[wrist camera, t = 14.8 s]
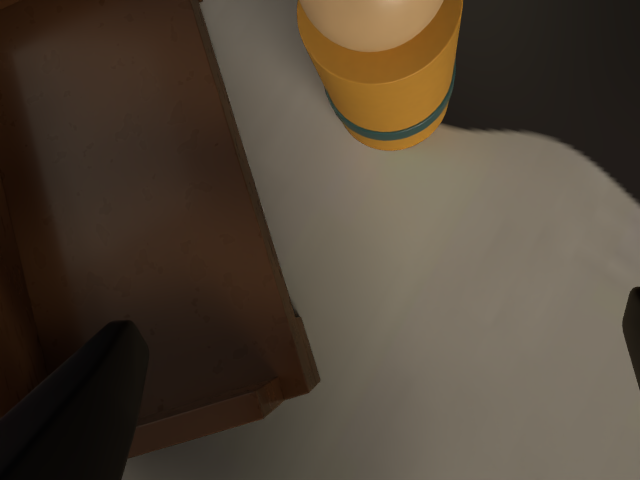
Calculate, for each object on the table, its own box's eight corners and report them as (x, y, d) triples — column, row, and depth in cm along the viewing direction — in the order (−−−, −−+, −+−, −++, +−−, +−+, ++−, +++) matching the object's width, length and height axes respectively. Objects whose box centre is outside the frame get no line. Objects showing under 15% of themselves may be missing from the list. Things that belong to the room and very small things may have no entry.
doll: (446, 156, 23) (471, 26, 11) (329, 149, 24) (242, 24, 12) (456, 40, 23) (491, -201, 12) (340, 39, 24) (266, -184, 13)
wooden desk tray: (321, 381, 23) (291, 411, 18) (85, 452, 25) (-7, 498, 20) (187, -52, 26) (127, -139, 21) (-15, 39, 28) (-118, -19, 23)
